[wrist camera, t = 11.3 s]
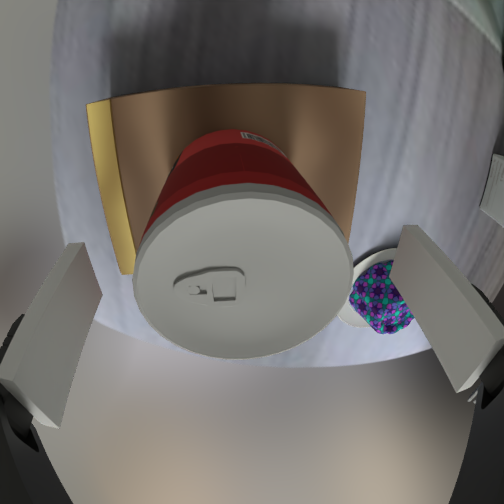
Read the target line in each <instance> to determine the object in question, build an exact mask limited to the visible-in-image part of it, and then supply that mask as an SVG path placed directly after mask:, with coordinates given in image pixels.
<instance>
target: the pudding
mask: <svg viewBox="0 0 504 504" xmlns="http://www.w3.org/2000/svg"><path fill="white" fill-rule="evenodd" d="M396 251H397V248H391V249H386V250H383V251H380V252H377V253H375V254H373V255H371V256H369V257H368V258H366V259H364V260H363V261H362V262H360V263H359V264H358V265H356V266H355V267H354V268H353V269H354V275H353V281H352V285H353V283H354V281H355V280H356V279H357V278H358V276H359V275H360V274H361V273H362V272H363V271H365V270H366V269H367V268H369V267H370V266H372V265H373V266H372V267H370V268H369V269H368V271H367V273H366V274H365V275H362V276H360V277H359V278H358V279H357V280H356V281H355V283H354V285H353V289H354V292H353V293H352V294H351V295H350V298H349V295H348V297H347V300H346V302H345V304H344V306H343V307H342V308H341V310H340V311H339V313H338V314H337V315H338V317H339V318H340V319H341V320H342V321H343V322H344V323H346V324H348V325H350V326H353V327H360V328H363V327H372V328H373V329H374V330H375V331H376V332H378V333H380V334H385V333H388V334H393V333H396V332H398V331H399V330H400V329H403V328H405V327H407V326H408V325H409V324H410V322H411V320H412V319H414V318H415V317H414V316H413V314H412V312H411V311H410V309H409V307H408V306H407V304H406V303H405V301H404V299H403V298H402V296H401V295H400V293H399V291H398V290H397V288H396V287H395V285H394V284H393V282H392V281H391V279H390V278H389V275H390V272H391V269H392V265H393V262H394V261H389V262H388V263H386V264H382V263H378V262H381V261H384V260H394V258H395V255H396ZM376 263H378V264H376ZM374 264H375V265H374ZM349 301H350V304H351V305H352V306H353V307H354V308H355V311H354V310H353V309H352V308H351V306H350V304H349Z"/></svg>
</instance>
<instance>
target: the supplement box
mask: <svg viewBox="0 0 504 504" xmlns="http://www.w3.org/2000/svg"><path fill="white" fill-rule="evenodd" d="M480 209H481V210H483V211H484V212H485V213H486V214H488V215H489V216H490V217H491V218H493V219H494V220H495V221H497V222H498V223H499V224H500V225H501V226H503V227H504V156H501V155H497V154H493V158H492V164H491V168H490V173H489V177H488V181H487V185H486V188H485V192H484V196H483V199H482V202H481V205H480Z"/></svg>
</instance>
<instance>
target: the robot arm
mask: <svg viewBox="0 0 504 504" xmlns="http://www.w3.org/2000/svg"><path fill="white" fill-rule="evenodd" d="M389 278H390V279H391V281H392V282H393V284H394V285H395V287H396V288H397V290H398V291H399V293H400V295H401V296H402V298H403V299H404V301H405V303H406V304H407V306H408V307H409V309H410V311H411V312H412V314H413V316H414V317H415V319H416V321H417V322H418V324H419V326H420V327H421V329H422V331H423V332H424V334H425V336H426V338H427V339H428V341H429V343H430V345H431V346H432V348H433V349H434V352H435V353H436V355H437V357H438V359H439V360H440V363H441V364H442V366H443V368H444V370H445V372H446V374H447V376H448V378H449V379H450V382H451V383H452V385H453V387H454V389H455V391H456V393H457V392H460V391H462V390H465V389H467V388H469V387H471V386H472V385H473V384H474V382H475V381H476V380H477V379H478V378H479V377H480V379H481V381H482V383H481V384H480V385H479V386H478V387H477V389H476V390H475V391H474V392H473V393H472V394H471V395H470V396H469V399H468V401H471V400H472V399H473V398H474V397H475V396H476V395H477V398H476V399H475V401H474V402H473V403H475V404H476V405H475V410H474V416H473V421H472V426H471V430H470V435H469V439H468V443H467V448H466V452H465V455H464V459H463V462H462V466H461V469H460V472H459V476H458V479H457V482H456V485H455V488H454V491H453V493H452V496H451V499H450V501H449V504H504V319H503V318H502V317H501V315H500V314H499V313H498V311H497V310H495V307H494V306H493V305H492V303H491V302H490V303H489V300H488V298H487V297H486V296H485V295H484V293H483V292H482V291H481V290H479V289H478V288H477V287H476V286H474V285H473V284H471V283H470V282H469V281H468V280H467V279H466V277H465V276H464V275H463V274H462V273H461V272H460V270H459V269H458V268H457V267H456V266H455V265H454V264H453V262H452V261H451V260H450V259H449V258H448V257H447V256H446V255H445V254H444V252H443V251H442V250H441V249H440V248H439V247H438V246H437V245H436V244H435V243H434V242H433V241H432V240H431V239H430V238H429V236H428V235H427V234H426V233H425V232H424V231H423V230H422V229H421V228H420V227H419V226H418V225H403V229H402V233H401V237H400V240H399V244H398V248H397V251H396V255H395V258H394V262H393V265H392V269H391V272H390V275H389ZM102 295H103V294H102V292H101V289H100V287H99V284H98V281H97V279H96V276H95V273H94V270H93V267H92V264H91V262H90V259H89V256H88V253H87V250H86V247H85V243H84V242H81V243H69V244H68V245H67V247H66V248H65V250H64V252H63V253H62V254H61V256H60V257H59V259H58V260H57V262H56V263H55V265H54V267H53V268H52V270H51V271H50V273H49V274H48V276H47V278H46V280H45V281H44V283H43V284H42V286H41V287H40V289H39V291H38V293H37V294H36V296H35V298H34V300H33V301H32V303H31V305H30V307H29V308H28V310H27V312H26V314H22V315H21V316H20V317H19V318H18V319H17V320H16V321H15V322H14V323H13V324H12V326H11V328H10V330H9V332H8V334H7V337H6V338H5V340H4V342H3V346H1V348H0V504H73V503H72V501H71V499H70V497H69V496H68V494H67V493H66V491H65V489H64V487H63V485H62V483H61V482H60V480H59V478H58V476H57V474H56V472H55V470H54V468H53V466H52V464H51V462H50V460H49V458H48V456H47V454H46V452H45V449H44V447H43V445H42V443H41V440H40V438H39V436H38V433H37V431H36V429H35V427H34V426H33V424H32V423H31V422H32V419H33V417H35V418H36V419H37V420H38V421H39V422H40V423H41V424H42V425H46V426H50V427H55V428H60V426H61V422H62V417H63V414H64V409H65V406H66V402H67V398H68V394H69V391H70V388H71V384H72V381H73V377H74V374H75V371H76V367H77V364H78V361H79V358H80V355H81V352H82V349H83V346H84V343H85V340H86V337H87V335H88V332H89V329H90V326H91V324H92V321H93V318H94V315H95V313H96V310H97V308H98V305H99V302H100V300H101V297H102Z"/></svg>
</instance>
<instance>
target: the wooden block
mask: <svg viewBox="0 0 504 504" xmlns="http://www.w3.org/2000/svg"><path fill="white" fill-rule="evenodd" d="M365 102H366V92H365V91H360V90H354V89H348V88H342V87H335V86H323V85H309V84H290V83H231V84H211V85H197V86H186V87H176V88H167V89H160V90H152V91H145V92H139V93H133V94H127V95H121V96H116V97H111V98H107V99H103V100H100V101H96V102H93V103H89V104H86V111H87V119H88V127H89V134H90V141H91V147H92V154H93V159H94V165H95V171H96V176H97V181H98V186H99V191H100V195H101V200H102V205H103V209H104V213H105V217H106V222H107V226H108V230H109V233H110V237H111V241H112V245H113V248H114V252H115V256H116V259H117V262H118V266H119V269H120V273H122V275H126V274H133V272H134V265H135V259H136V253H137V250H138V247H139V245H140V242H141V238H142V235H143V233H144V230H145V228H146V225H147V223H148V220H149V218H150V216H151V213H152V211H153V209H154V206H155V204H156V202H157V199H158V197H159V195H160V193H161V190H162V188H163V186H164V184H165V182H166V179H167V177H168V175H169V173H170V171H171V169H172V167H173V165H174V163H175V161H176V159H177V157H178V156H179V155H180V154H181V152H182V151H183V150H184V149H185V148H186V147H187V146H188V145H189V144H191V143H192V142H193V141H194V140H196V139H198V138H200V137H202V136H204V135H206V134H209V133H212V132H215V131H219V130H228V129H237V130H246V131H250V132H253V133H256V134H259V135H261V136H263V137H265V138H267V139H269V140H270V141H271V142H273V143H274V144H275V145H276V146H277V147H279V148H280V150H281V151H282V152H283V153H284V154H285V156H286V157H287V158H288V159H289V160H290V162H291V163H292V164H293V165H294V167H295V168H296V169H297V170H298V172H299V173H300V174H301V175H302V177H303V178H304V179H305V180H306V182H307V183H308V184H309V185H310V187H311V188H312V189H313V190H314V192H315V193H316V194H317V196H318V197H319V198H320V200H321V201H322V202H323V203H324V205H325V206H326V208H327V209H328V211H329V212H330V213H331V215H332V216H333V218H334V220H335V221H336V223H337V224H338V225H339V227H340V228H341V230H342V231H343V234H344V236H345V239H346V240H347V243H348V242H349V236H350V231H351V225H352V218H353V212H354V205H355V198H356V191H357V184H358V176H359V168H360V159H361V150H362V140H363V129H364V117H365Z"/></svg>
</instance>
